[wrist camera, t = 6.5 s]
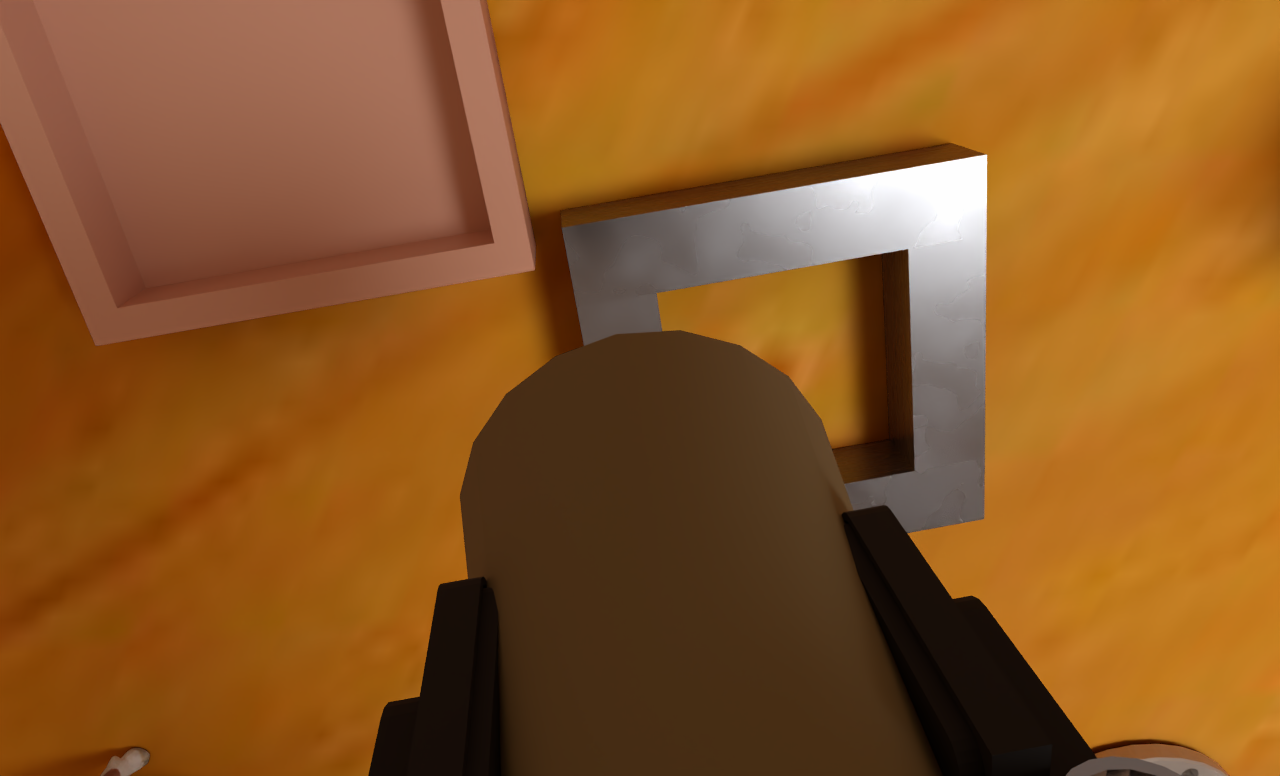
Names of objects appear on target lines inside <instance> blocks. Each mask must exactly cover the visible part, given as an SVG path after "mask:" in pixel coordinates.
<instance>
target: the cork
mask: <svg viewBox="0 0 1280 776" xmlns="http://www.w3.org/2000/svg"><path fill="white" fill-rule="evenodd" d="M460 502H461V512H462V522H463V532H464V542H465V552H466V562H467V572H468V579H471V578H477V577H484V578H485V579H486V588H487V587H490V588H492V589H493V591H494V595H495V600H496V604H497V609H498V673H499V715H500V757H501V776H943V774H942V772H941V769H940V767H939V765H938V762H937V760H936V758H935V755H934V753H933V751H932V748H931V746H930V743H929V741H928V739H927V736H926V734H925V732H924V729H923V727H922V724H921V722H920V720H919V717H918V715H917V713H916V710H915V708H914V705H913V703H912V701H911V698H910V696H909V694H908V691H907V689H906V686H905V684H904V682H903V679H902V677H901V675H900V672H899V670H898V667H897V665H896V663H895V660H894V658H893V656H892V653H891V651H890V648H889V646H888V644H887V641H886V639H885V637H884V634H883V632H882V629H881V627H880V625H879V622H878V620H877V618H876V615H875V613H874V610H873V608H872V606H871V603H870V601H869V599H868V596H867V594H866V591H865V589H864V587H863V584H862V582H861V580H860V577H859V575H858V572H857V569H856V566H855V562H854V559H853V556H852V553H851V549H850V546H849V543H848V539H847V536H846V533H845V529H844V524H846V522H844V520H843V517H842V513H843V512H848V511H853V507H852V505H851V502H850V499H849V496H848V493H847V491H846V488H845V485H844V482H843V479H842V477H841V474H840V471H839V468H838V465H837V463H836V460H835V457H834V454H833V451H832V449H831V446H830V443H829V440H828V437H827V435H826V432H825V429H824V426H823V423H822V421H821V419H820V417H819V416H818V415H817V413H816V412H815V411H814V409H813V408H812V407H811V405H810V404H809V403H808V401H807V400H806V399H805V398H804V396H803V395H802V394H801V392H800V391H799V390H798V388H797V387H796V386H795V384H794V383H793V382H792V380H791V379H790V378H789V376H787V375H785V374H784V373H782V372H781V371H779V370H778V369H776V368H774V367H773V366H771V365H770V364H768V363H767V362H765V361H764V360H762V359H760V358H759V357H757V356H756V355H754V354H753V353H751V352H750V351H748V350H746V349H745V348H743V347H742V346H740V345H736V344H732V343H729V342H725V341H721V340H717V339H713V338H709V337H705V336H701V335H697V334H693V333H689V332H685V331H681V330H678V331H661V332H643V333H626V334H615V335H612V336H609V337H607V338H604V339H601V340H599V341H596V342H593V343H590V344H588V345H585V346H582V347H580V348H577V349H574V350H571V351H569V352H566V353H563V354H561V355H558V356H555V357H554V358H553V359H551V360H550V361H549V362H548V363H546V364H545V365H544V366H542V367H541V368H540V369H538V370H537V371H536V372H534V373H533V374H532V375H531V376H529V377H528V378H527V379H525V380H524V381H523V382H521V383H520V384H519V385H517V386H516V387H515V388H514V389H512V390H511V391H510V392H508V393H507V394H506V395H505V397H504V398H503V400H502V401H501V402H500V404H499V405H498V407H497V408H496V410H495V411H494V413H493V414H492V416H491V417H490V419H489V420H488V422H487V423H486V425H485V426H484V428H483V429H482V431H481V432H480V433H479V435H478V436H477V438H476V439H475V441H474V442H473V446H472V450H471V454H470V458H469V462H468V465H467V469H466V473H465V477H464V481H463V485H462V489H461V493H460Z"/></svg>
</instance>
